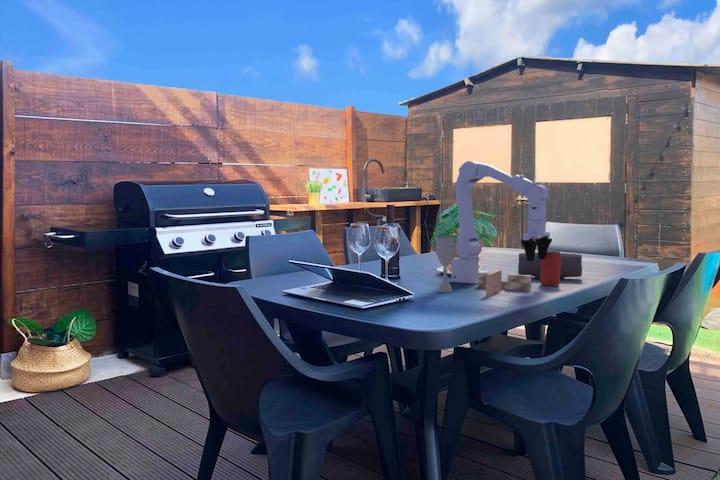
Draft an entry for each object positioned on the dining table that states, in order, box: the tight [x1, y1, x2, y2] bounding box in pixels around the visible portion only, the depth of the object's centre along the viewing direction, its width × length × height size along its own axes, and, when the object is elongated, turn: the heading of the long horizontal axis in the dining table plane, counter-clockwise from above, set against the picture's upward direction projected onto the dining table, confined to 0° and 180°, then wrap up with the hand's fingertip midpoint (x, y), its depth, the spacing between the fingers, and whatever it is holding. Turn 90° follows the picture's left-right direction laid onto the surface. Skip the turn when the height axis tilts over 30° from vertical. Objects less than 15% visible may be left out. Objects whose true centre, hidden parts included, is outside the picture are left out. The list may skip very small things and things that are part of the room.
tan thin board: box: [485, 269, 503, 297], centre depth 201 cm, size 1×12×7 cm, turn 149°
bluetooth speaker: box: [517, 251, 583, 280], centre depth 232 cm, size 23×9×10 cm, turn 73°
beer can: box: [539, 249, 561, 287], centre depth 216 cm, size 7×7×12 cm
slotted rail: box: [477, 271, 532, 292], centre depth 211 cm, size 18×2×5 cm, turn 59°
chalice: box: [434, 236, 457, 293], centre depth 206 cm, size 7×7×18 cm
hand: (536, 259), depth 209 cm, fingers open, 7 cm apart
